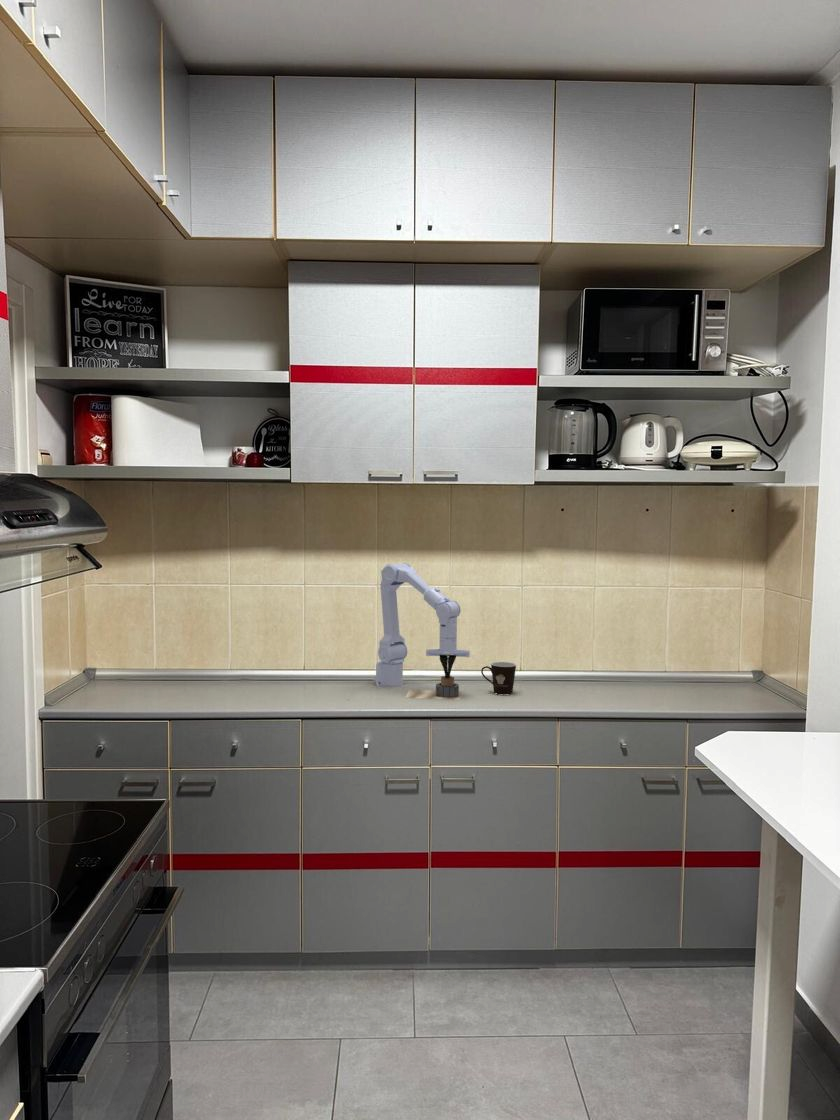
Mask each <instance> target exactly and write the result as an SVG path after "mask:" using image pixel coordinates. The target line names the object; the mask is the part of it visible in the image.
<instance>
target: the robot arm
mask: <svg viewBox="0 0 840 1120" xmlns="http://www.w3.org/2000/svg"><path fill="white" fill-rule="evenodd" d="M380 573H381V581H380V587H379V588H380V599H381V610H382V613H381V614H382V624H383V637H382V638H381V639H380V640H379V643H378V645H379V647H378V649H377V656H378V658H379V660H380V661H378V662H377V663H376V666H375V686H377V687H389V688H393V687H401V686H403V685H404V684H403V678H404V677H403V676H404V675H403V672H404V669H403V668H404V666H403V665H404V662H405V658H407V655H408V647H407V645H406V641H405V638H404V637H403V636H402V635H401V634H400V623H399V612H398V611H399V610H398V599H397V598H398V596H397V595H398V594H397V590H399V588H400V587H401V586H402V585H403V584H405V583H406V584H409V585H410V586H412V587H413V588H414V589H416V590H417V592H419V593H420V594H422V595H423V600H424V601H425V602H426V603H427V604H428V605H429V606H430V607H431V608H433V610H434V611H435V613H436V616H437V618H438V623H439V648H435V649H434V648H433V649H426V650H425V652H426V655H425V656H426V657H431V656H432V657H439V661H440V663H441V667H443V668H442V669H443V673H444V676H445V678H450V676H451V674H452V673H451V672H452V668H453V665H454V663H455V661H456V659H457V657H459V658H460V657H463V658H465V657H466V658H470V657H471V655H470V654H471V651H470V650H464V649H458V647H457V642H458V641H457V640H458V639H457V638H458V637H457V632H458V630H457V629H458V617H459V616H460V614H461V607H460V603H458V601H456V600H451V599H450V598H449V597H448V596H445V594H443V593H442V592H441V589H440V588H439V587H434V586H433V587H431V586H430V585H428V584H427V582H425V580H424V579H423V578H422V577H421V576H420V575H419V574H418V573H417V572H416V570H415V568H414V567H412V565H410V563H407V562H403V563H391V564H390V563H388V564H386V565H385V566H384V567H383V568H382V570H381V571H380Z"/></svg>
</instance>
